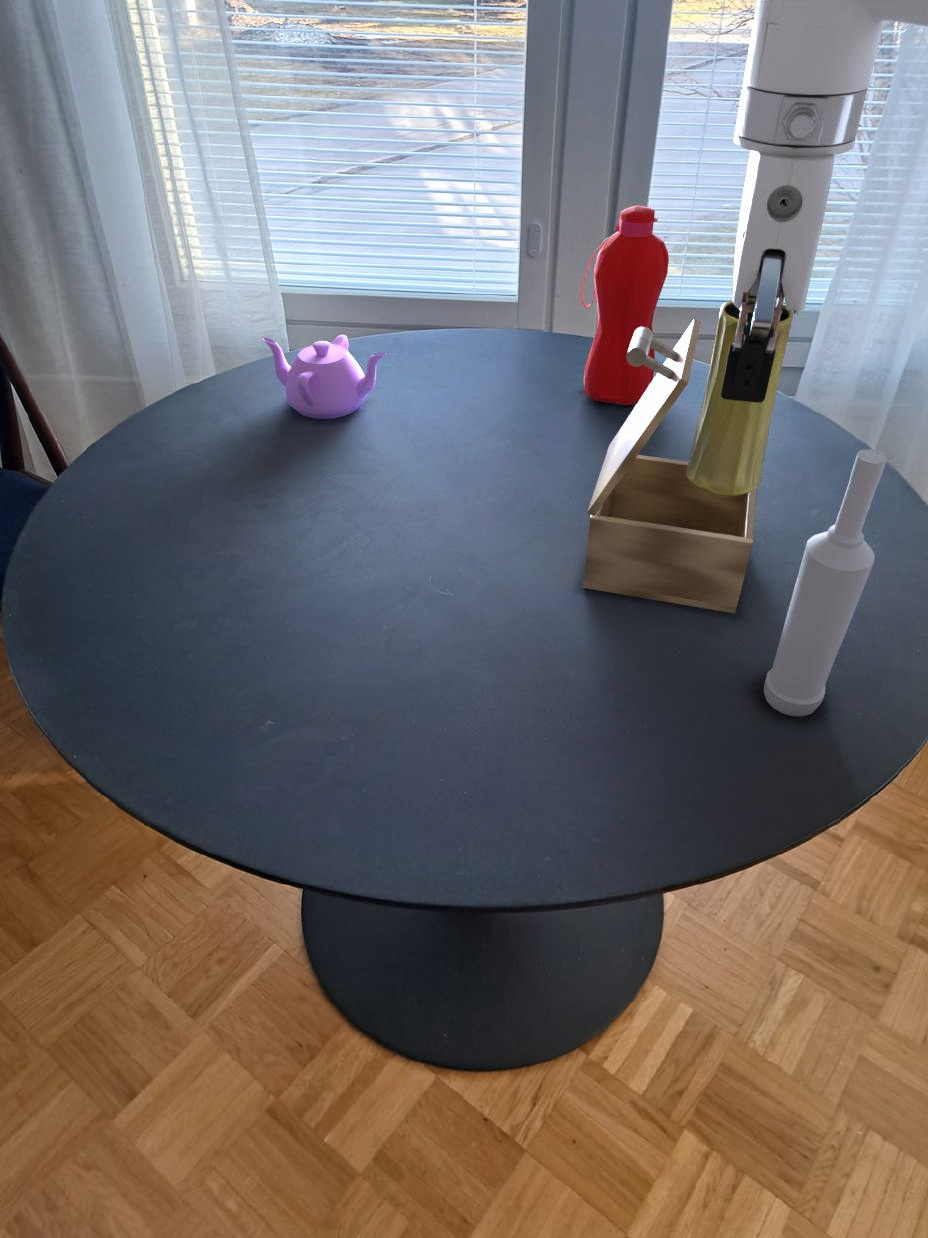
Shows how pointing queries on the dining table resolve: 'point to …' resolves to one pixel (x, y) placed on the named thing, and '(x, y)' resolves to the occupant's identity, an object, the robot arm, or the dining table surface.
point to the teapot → (325, 378)
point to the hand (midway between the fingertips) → (743, 379)
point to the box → (670, 539)
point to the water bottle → (624, 306)
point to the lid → (646, 404)
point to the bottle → (825, 597)
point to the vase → (733, 417)
